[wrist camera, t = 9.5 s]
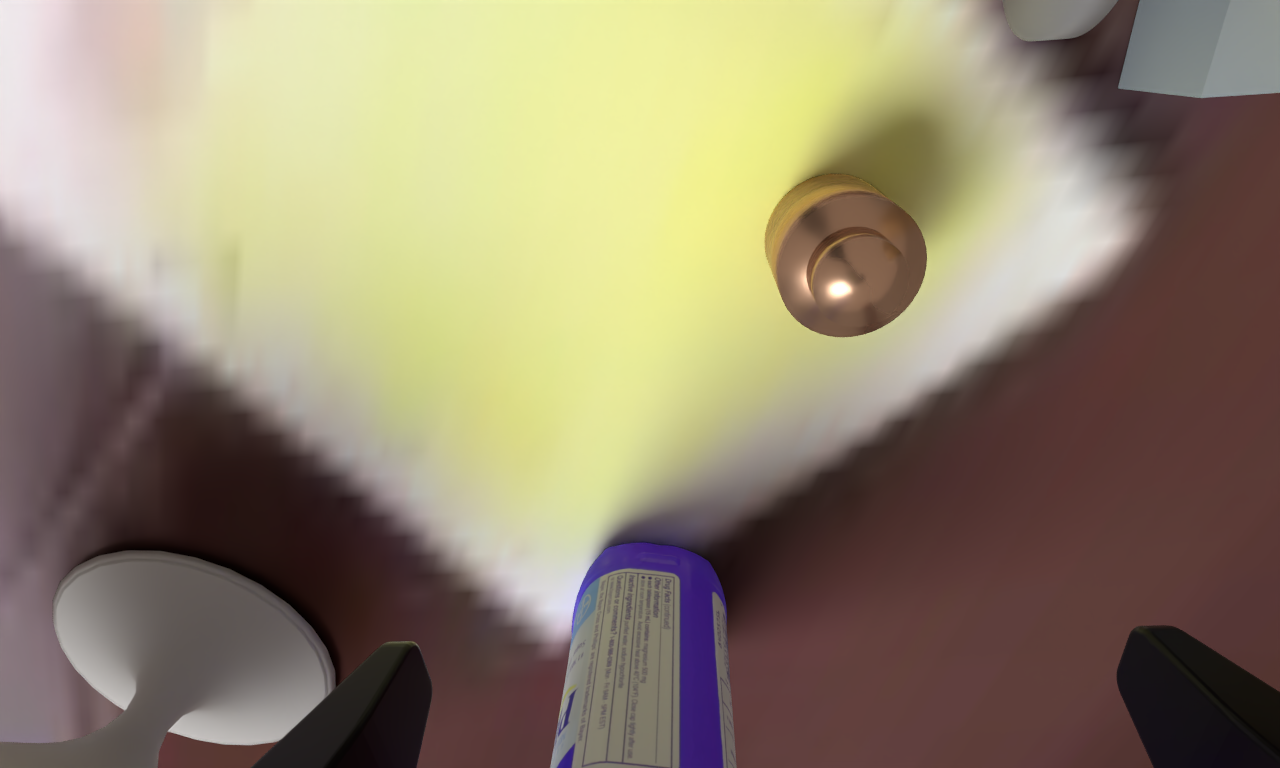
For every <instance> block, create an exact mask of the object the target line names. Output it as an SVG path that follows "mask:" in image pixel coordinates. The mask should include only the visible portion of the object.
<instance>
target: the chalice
mask: <svg viewBox="0 0 1280 768" xmlns="http://www.w3.org/2000/svg"><path fill="white" fill-rule="evenodd" d="M53 623H54V628H55V631H56V634H57V637H58V640H59V643H60V646H61V648H62V650H63V651H64V653H65V654H66V656H67V658H68V659H69V661H70V662H71V664H72V665H73V667H74V668H75V669H76V670H77V671H78V672H79V674H80V675H81V676H82V677H83V678H84V679H85V680H86V681H87V682H88V683H89V684H90V685H91V686H92V687H93V688H94V689H95V690H97V691H98V692H99V693H101V694H102V695H103V696H105V697H106V698H107V699H108V700H110V701H111V702H112V703H114V704H115V705H117V706H118V707H120V708H122V709H123V710H125V711H124V712H123V713H122V714H121V715H119V716H118V717H117V718H116V719H114V720H113V721H112V722H111V723H109V724H108V725H107V726H106V727H103V728H101V729H99V730H97V731H95V732H93V733H91V734H88V735H86V736H84V737H82V738H78V739H73V740H68V741H64V742H56V743H14V742H0V768H157V767H158V754H159V750H160V747H161V745H162V743H163V740H164V738H165V736H166V733H167V731H169V732H172V733H175V734H179V735H182V736H185V737H189V738H192V739H196V740H201V741H207V742H213V743H219V744H227V745H256V744H264V743H272V742H276V741H280V740H281V739H282V738H283V737H284V736H285V735H286V734H287V733H288V732H289V731H290V730H291V729H293V728H294V727H295V726H296V725H297V724H298V723H299V722H300V721H301V720H302V719H303V718H304V717H305V716H306V715H307V714H308V713H310V712H311V711H312V710H313V709H314V708H315V707H316V706H317V705H318V704H319V703H320V702H321V701H322V700H323V699H324V698H326V697H327V696H328V695H329V694H330V693H331V692H332V691H333V690H334V689H335V688H336V681H335V669H334V667H333V664H332V661H331V658H330V656H329V653H328V650H327V648H326V647H325V645H324V644H323V642H322V641H321V639H320V638H319V636H318V635H317V634H316V632H315V631H314V629H313V628H312V626H311V625H310V624H309V623H308V622H307V621H306V620H304V619H303V618H302V617H301V616H300V615H299V614H298V613H297V612H296V611H295V610H294V609H293V608H292V607H291V606H290V605H289V604H288V603H286V602H285V601H283V600H282V599H281V598H279V597H278V596H276V595H275V594H273V593H272V592H271V591H269V590H268V589H266V588H265V587H263V586H262V585H260V584H258V583H256V582H254V581H252V580H250V579H248V578H246V577H244V576H242V575H240V574H238V573H236V572H234V571H233V570H231V569H228V568H225V567H222V566H219V565H216V564H213V563H210V562H207V561H204V560H202V559H199V558H196V557H191V556H185V555H180V554H175V553H169V552H164V551H136V550H126V551H121V552H116V553H110V554H105V555H100V556H97V557H95V558H93V559H90V560H88V561H86V562H84V563H82V564H80V565H78V566H76V567H75V568H74V569H73V570H72V571H71V572H70V573H69V574H68V575H67V576H65V577H64V578H63V579H62V580H61V581H60V583H59V586H58V588H57V591H56V593H55V596H54V598H53Z"/></svg>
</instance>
